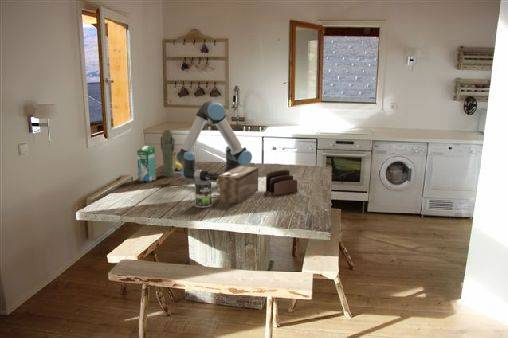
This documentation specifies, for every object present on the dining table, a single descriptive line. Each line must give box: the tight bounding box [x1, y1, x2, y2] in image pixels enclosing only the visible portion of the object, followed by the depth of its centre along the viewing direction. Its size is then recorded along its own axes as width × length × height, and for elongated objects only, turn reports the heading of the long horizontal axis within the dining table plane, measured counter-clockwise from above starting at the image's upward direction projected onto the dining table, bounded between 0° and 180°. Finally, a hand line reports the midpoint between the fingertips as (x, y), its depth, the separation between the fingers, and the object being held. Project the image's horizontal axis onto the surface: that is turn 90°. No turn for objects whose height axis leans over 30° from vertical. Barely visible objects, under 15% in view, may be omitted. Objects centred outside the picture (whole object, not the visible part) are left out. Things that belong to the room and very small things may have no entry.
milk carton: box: [136, 145, 157, 183], centre depth 339 cm, size 9×9×25 cm
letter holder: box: [265, 169, 298, 196], centre depth 313 cm, size 10×20×14 cm, turn 124°
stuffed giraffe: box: [173, 151, 184, 174], centre depth 371 cm, size 16×18×16 cm
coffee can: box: [194, 180, 212, 208], centre depth 281 cm, size 10×10×14 cm
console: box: [217, 165, 259, 204], centre depth 303 cm, size 14×33×17 cm, turn 158°
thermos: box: [160, 129, 176, 178], centre depth 353 cm, size 9×12×35 cm
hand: (232, 178), depth 315 cm, fingers closed
